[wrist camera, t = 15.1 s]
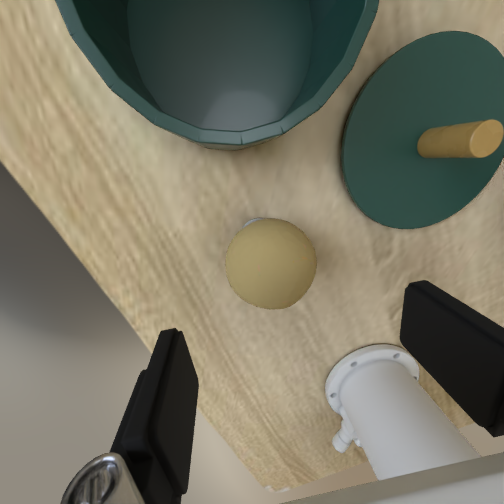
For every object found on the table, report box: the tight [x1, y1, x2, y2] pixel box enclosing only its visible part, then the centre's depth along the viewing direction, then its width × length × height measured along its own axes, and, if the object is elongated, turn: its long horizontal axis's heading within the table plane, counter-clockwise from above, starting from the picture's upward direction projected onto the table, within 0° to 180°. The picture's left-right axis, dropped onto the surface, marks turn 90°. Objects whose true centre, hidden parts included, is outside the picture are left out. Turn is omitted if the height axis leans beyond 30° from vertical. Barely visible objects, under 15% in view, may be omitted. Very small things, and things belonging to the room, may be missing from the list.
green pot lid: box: [341, 31, 504, 229], centre depth 19 cm, size 16×16×6 cm
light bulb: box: [225, 218, 317, 309], centre depth 19 cm, size 6×6×10 cm
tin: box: [55, 0, 379, 150], centre depth 14 cm, size 15×15×8 cm
